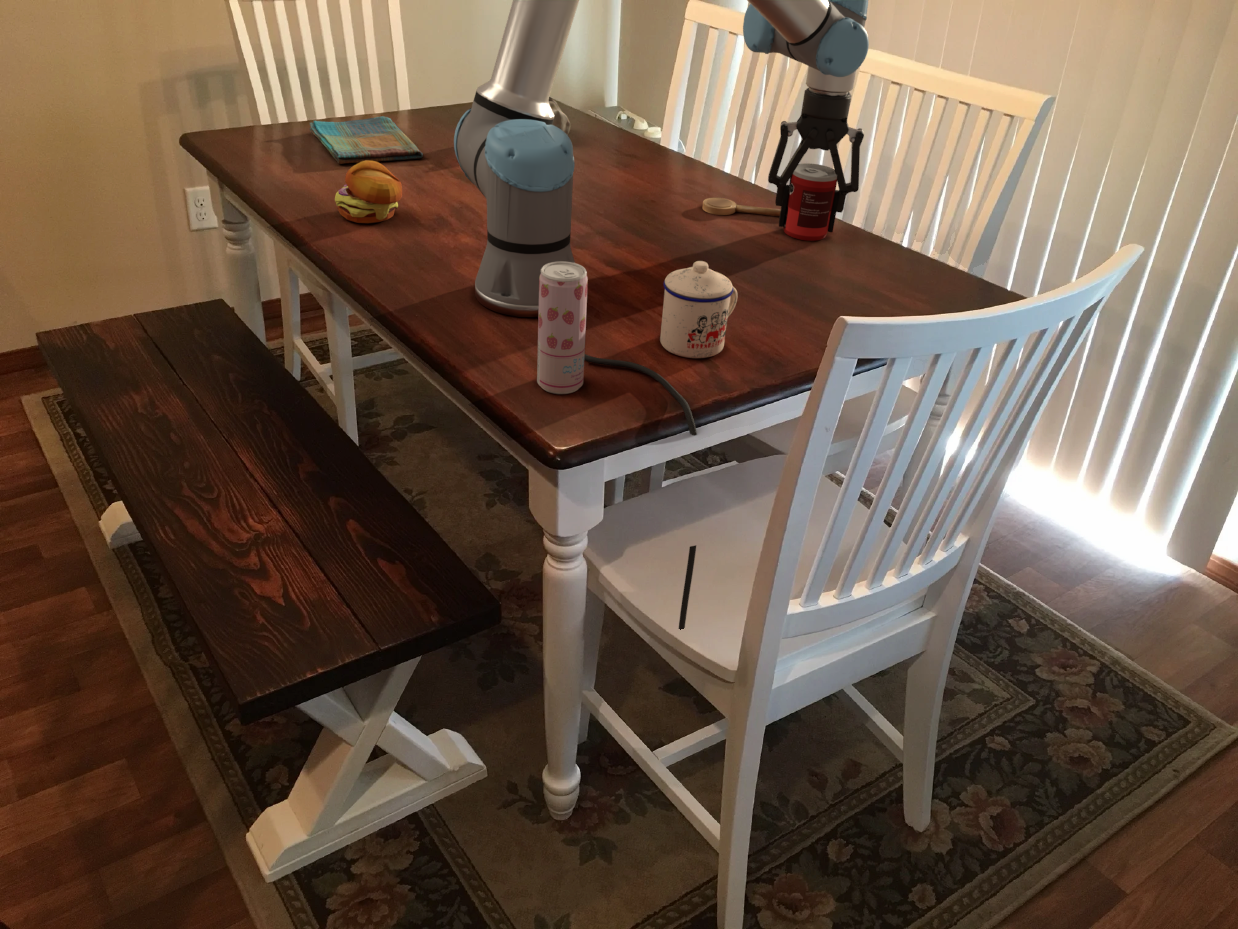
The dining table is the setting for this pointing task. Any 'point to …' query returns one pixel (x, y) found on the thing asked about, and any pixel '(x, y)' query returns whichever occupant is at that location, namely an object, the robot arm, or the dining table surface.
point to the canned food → (810, 202)
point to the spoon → (734, 208)
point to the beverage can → (561, 327)
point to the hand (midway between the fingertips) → (805, 226)
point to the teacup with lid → (696, 311)
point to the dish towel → (365, 140)
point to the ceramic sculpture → (559, 117)
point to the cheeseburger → (368, 193)
